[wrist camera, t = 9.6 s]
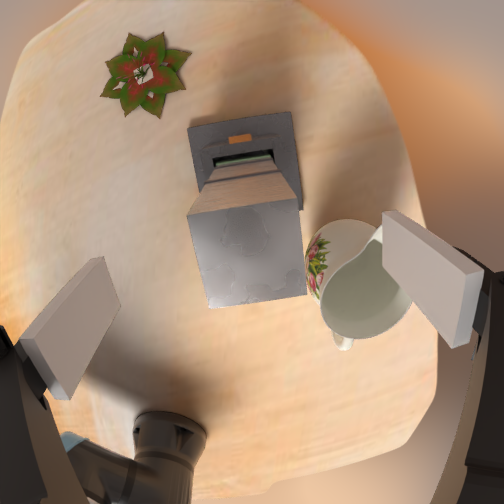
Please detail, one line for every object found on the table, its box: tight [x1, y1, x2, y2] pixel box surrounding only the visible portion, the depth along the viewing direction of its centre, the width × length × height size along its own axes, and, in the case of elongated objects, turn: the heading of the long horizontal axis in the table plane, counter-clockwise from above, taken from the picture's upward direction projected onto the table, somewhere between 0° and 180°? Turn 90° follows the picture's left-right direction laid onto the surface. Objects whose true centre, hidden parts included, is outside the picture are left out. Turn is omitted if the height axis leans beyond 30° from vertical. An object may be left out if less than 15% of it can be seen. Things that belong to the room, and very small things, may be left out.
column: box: [187, 153, 307, 309], centre depth 22 cm, size 5×5×18 cm
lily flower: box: [100, 32, 192, 119], centre depth 31 cm, size 12×12×5 cm
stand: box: [187, 112, 303, 211], centre depth 34 cm, size 12×12×10 cm
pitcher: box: [305, 219, 412, 350], centre depth 36 cm, size 11×18×14 cm, turn 176°
